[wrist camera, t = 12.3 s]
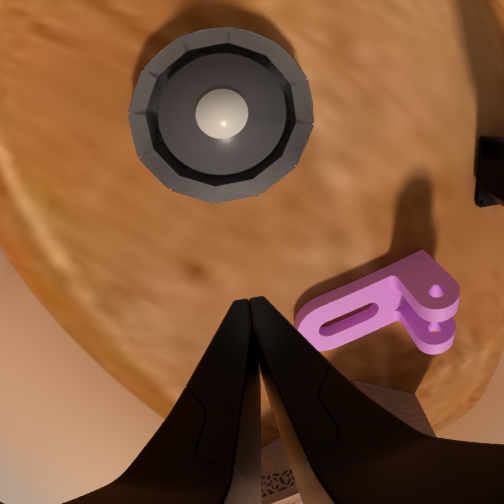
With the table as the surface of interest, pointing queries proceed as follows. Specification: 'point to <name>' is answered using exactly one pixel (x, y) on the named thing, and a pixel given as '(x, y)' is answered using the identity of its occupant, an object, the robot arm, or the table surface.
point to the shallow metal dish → (213, 185)
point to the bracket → (387, 306)
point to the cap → (222, 114)
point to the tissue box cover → (276, 462)
